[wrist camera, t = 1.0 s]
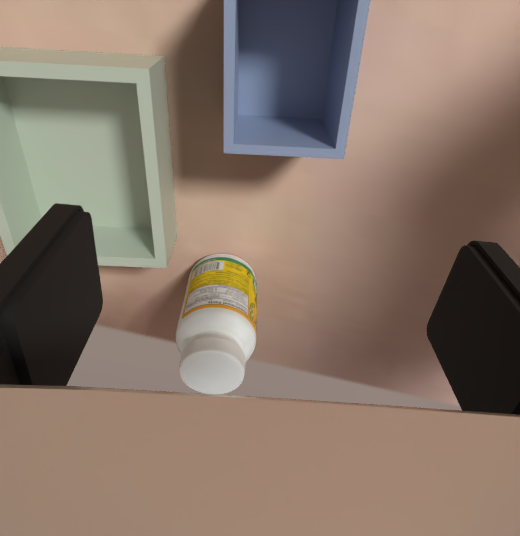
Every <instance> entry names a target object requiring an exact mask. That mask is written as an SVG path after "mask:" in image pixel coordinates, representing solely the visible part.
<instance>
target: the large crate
mask: <svg viewBox="0 0 520 536" xmlns="http://www.w3.org/2000/svg"><path fill="white" fill-rule="evenodd" d="M55 203H59V204H70V205H80V206H81V207H82V208H83V210H84V212H89V213H90V215H91V218H92V225H93V232H94V239H95V247H96V254H97V261H98V265H101V266H126V267H150V268H167V267H168V263H169V260H170V257H171V254H172V251H173V248H174V245H175V242H176V238H177V223H176V209H175V195H174V180H173V166H172V152H171V138H170V124H169V110H168V95H167V81H166V67H165V56H159V55H141V54H122V53H104V52H86V51H67V50H49V49H30V48H12V47H0V237H1V240H2V242H3V245H4V248H5V251H6V254H7V256H8V255H9V254H10V252H11V251H12V250H13V249H14V248H15V247H16V246H17V245H18V244H19V242H20V241H21V240H22V239H23V238H24V237H25V236H26V235H27V234H28V232H29V231H30V230H31V229H32V228H33V227H34V226H35V225H36V223H37V222H38V221H39V220H40V219H41V218H42V217H43V216H44V215H45V213H46V212H47V211H48V210H49V209H50V208H51V207H52V206H53V205H54V204H55Z"/></svg>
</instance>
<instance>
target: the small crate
mask: <svg viewBox="0 0 520 536" xmlns="http://www.w3.org/2000/svg"><path fill="white" fill-rule="evenodd" d="M369 5H370V0H224V153H229V154H250V155H270V156H291V157H312V158H332V159H344V154H345V148H346V142H347V136H348V130H349V124H350V118H351V112H352V107H353V101H354V95H355V89H356V83H357V77H358V71H359V65H360V59H361V53H362V47H363V41H364V35H365V29H366V23H367V17H368V11H369Z"/></svg>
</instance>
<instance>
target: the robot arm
mask: <svg viewBox="0 0 520 536" xmlns="http://www.w3.org/2000/svg"><path fill="white" fill-rule="evenodd" d="M102 304H103V298H102V290H101V283H100V276H99V268H98V261H97V254H96V247H95V239H94V232H93V225H92V218H91V215H90V213H89V212H84V210H83V208H82V207H81V206H80V205H70V204H59V203H55V204H54V205H53V206H52V207H51V208H50V209H49V210H48V211H47V212H46V213H45V215H44V216H43V217H42V218H41V219H40V220H39V221H38V222H37V223H36V225H35V226H34V227H33V228H32V229H31V230H30V231H29V232H28V234H27V235H26V236H25V237H24V238H23V239H22V240H21V241H20V242H19V244H18V245H17V246H16V247H15V248H14V249H13V250H12V251H11V252H10V254H9V255H8V256H7V257H6V258H5V259H4V260H3V261H2V262H1V264H0V536H520V268H519V267H518V265H517V264H516V263H515V262H514V261H513V260H512V259H511V258H510V257H509V255H508V254H507V253H506V252H505V251H504V250H503V249H502V248H501V246H500V245H499V244H497V243H493V242H482V241H471V242H470V243H469V244H468V245H467V246H463V247H462V248H461V249H460V251H459V253H458V255H457V258H456V260H455V262H454V265H453V267H452V269H451V271H450V274H449V276H448V278H447V281H446V283H445V285H444V287H443V290H442V292H441V294H440V297H439V299H438V301H437V303H436V306H435V308H434V310H433V313H432V315H431V317H430V319H429V322H428V325H427V336H428V339H429V341H430V343H431V345H432V347H433V349H434V351H435V353H436V356H437V358H438V360H439V362H440V364H441V366H442V368H443V370H444V373H445V375H446V377H447V379H448V381H449V383H450V385H451V387H452V390H453V392H454V394H455V396H456V398H457V400H458V402H459V404H460V407H461V409H462V411H459V410H445V409H431V408H417V407H402V406H388V405H373V404H358V403H341V402H327V401H312V400H296V399H280V398H263V397H249V396H232V395H215V394H197V393H180V392H164V391H163V392H162V391H147V390H128V389H112V388H95V387H94V388H93V387H76V386H66V385H67V383H68V381H69V379H70V377H71V374H72V372H73V370H74V368H75V366H76V364H77V362H78V360H79V357H80V355H81V353H82V351H83V349H84V347H85V345H86V343H87V341H88V338H89V336H90V334H91V332H92V330H93V327H94V326H95V324H96V321H97V319H98V317H99V315H100V313H101V310H102Z"/></svg>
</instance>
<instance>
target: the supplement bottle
mask: <svg viewBox="0 0 520 536" xmlns="http://www.w3.org/2000/svg"><path fill="white" fill-rule="evenodd" d="M256 309H257V282H256V277H255V274H254V272H253V270H252V268H251V267H250V266H249V264H248V263H247V262H245V261H244V260H242V259H241V258H239V257H236V256H233V255H229V254H213V255H209V256H207V257H205V258H203V259H201V260H200V261H198V262H197V263H196V264H195V266H194V267H193V268H192V270H191V272H190V275H189V279H188V284H187V288H186V292H185V297H184V301H183V305H182V309H181V314H180V318H179V322H178V326H177V330H176V344H177V347H178V350H179V352H180V353H181V361H180V366H179V373H180V377H181V379H182V380H183V382H184V383H185V384H186V385H187V386H188V387H190V388H191V389H193V390H195V391H198V392H200V393H204V394H215V395H219V394H225V393H228V392H231V391H233V390H234V389H236V388H237V387H238V386H239V385H240V384H241V383H242V381H243V379H244V375H245V364H246V361H247V360H248V359H249V358H250V356H251V355H252V353H253V351H254V349H255V345H256V313H257V310H256Z"/></svg>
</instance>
